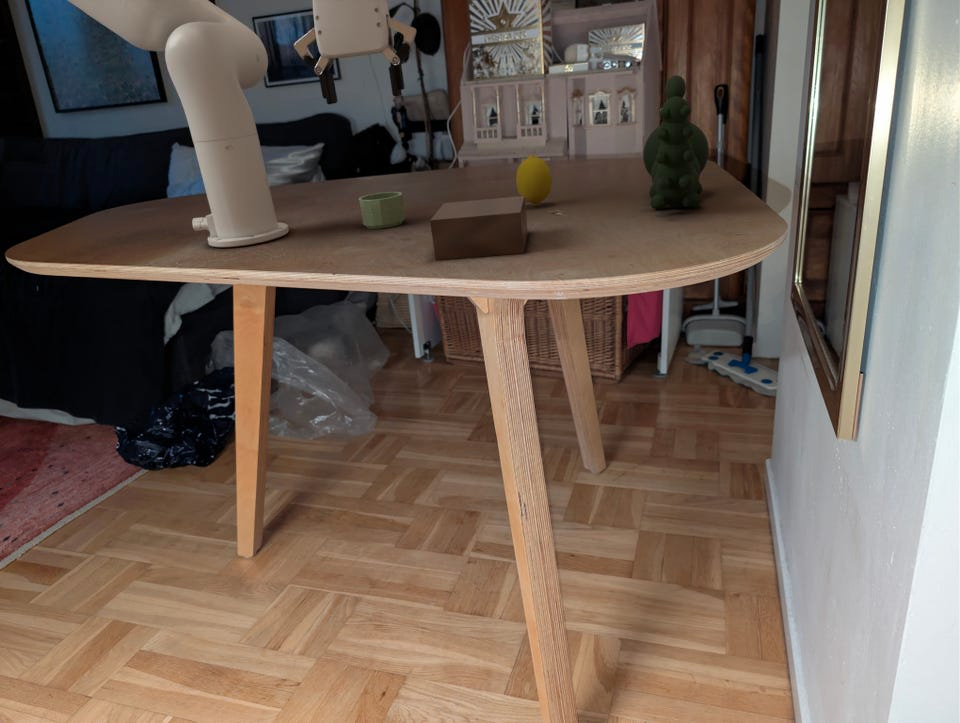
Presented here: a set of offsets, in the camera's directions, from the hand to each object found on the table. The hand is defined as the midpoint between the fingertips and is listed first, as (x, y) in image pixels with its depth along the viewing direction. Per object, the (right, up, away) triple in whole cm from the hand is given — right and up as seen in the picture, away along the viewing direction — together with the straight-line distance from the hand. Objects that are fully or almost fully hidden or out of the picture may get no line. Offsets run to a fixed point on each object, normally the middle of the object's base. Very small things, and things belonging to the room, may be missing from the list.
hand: (364, 99), depth 101 cm
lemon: (+26, -13, +12) cm, 31 cm away
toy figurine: (+45, -15, +2) cm, 48 cm away
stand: (+17, -23, -9) cm, 30 cm away
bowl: (+1, -16, +11) cm, 19 cm away
